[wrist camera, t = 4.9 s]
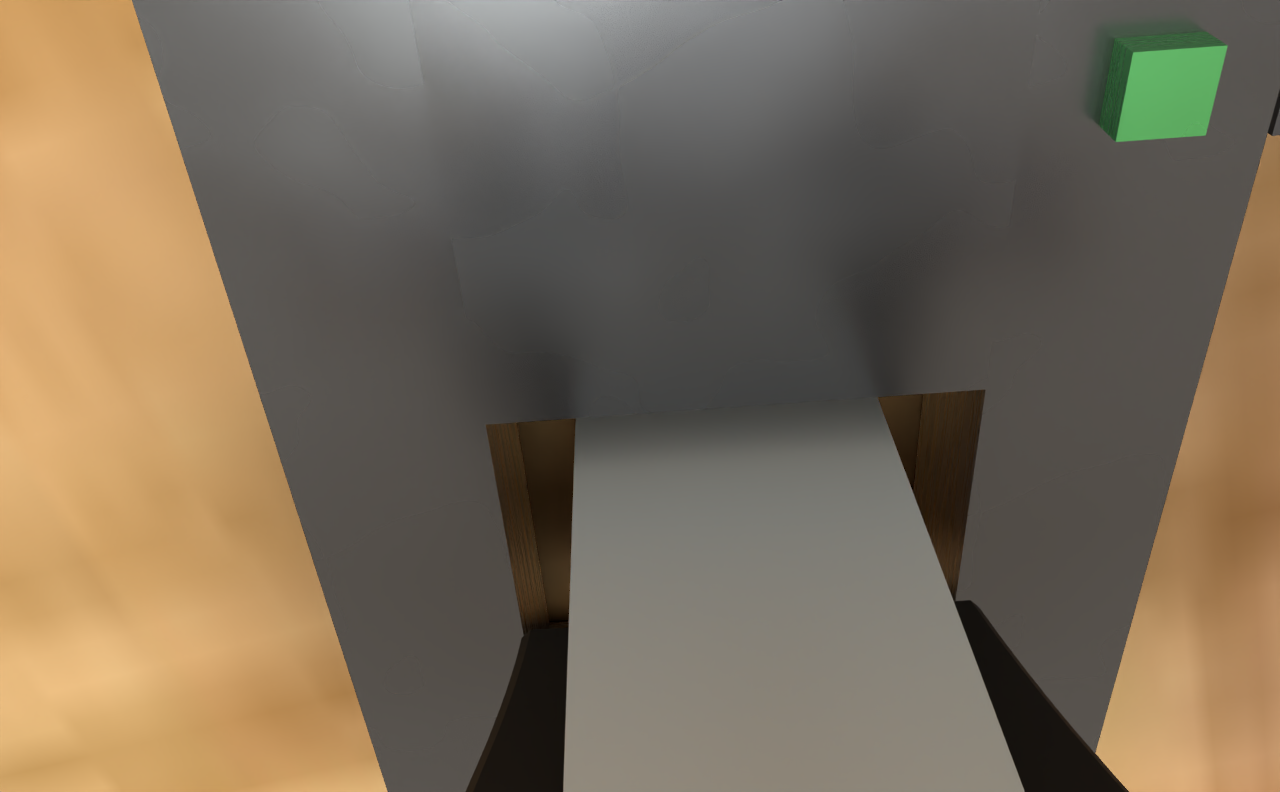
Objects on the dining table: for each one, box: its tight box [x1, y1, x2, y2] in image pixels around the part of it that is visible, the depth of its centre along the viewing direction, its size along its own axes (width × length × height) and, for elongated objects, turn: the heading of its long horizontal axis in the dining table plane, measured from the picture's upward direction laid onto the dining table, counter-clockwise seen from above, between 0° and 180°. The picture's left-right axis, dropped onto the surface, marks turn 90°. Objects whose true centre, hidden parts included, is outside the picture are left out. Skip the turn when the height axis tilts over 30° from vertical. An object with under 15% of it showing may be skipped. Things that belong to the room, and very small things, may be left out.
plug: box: [563, 397, 1025, 792], centre depth 11 cm, size 4×4×8 cm
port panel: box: [132, 0, 1280, 792], centre depth 14 cm, size 10×16×3 cm, turn 4°
